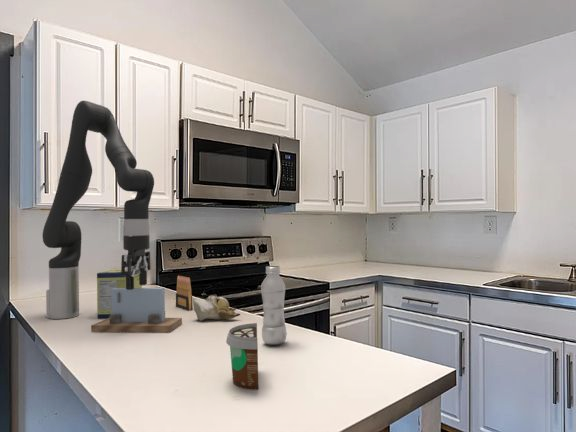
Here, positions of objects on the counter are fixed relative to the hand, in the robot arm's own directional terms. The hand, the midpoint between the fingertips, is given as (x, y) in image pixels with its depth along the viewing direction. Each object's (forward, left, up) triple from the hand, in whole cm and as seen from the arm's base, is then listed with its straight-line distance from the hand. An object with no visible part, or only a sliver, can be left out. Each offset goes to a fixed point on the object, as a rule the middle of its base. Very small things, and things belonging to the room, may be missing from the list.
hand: (136, 287), depth 127 cm
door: (0, 0, -10) cm, 10 cm away
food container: (+41, -40, -13) cm, 59 cm away
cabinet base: (0, 0, -12) cm, 12 cm away
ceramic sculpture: (+21, +12, -13) cm, 28 cm away
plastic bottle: (+44, -15, -13) cm, 48 cm away
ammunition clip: (+4, +29, -13) cm, 32 cm away
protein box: (-16, +20, -13) cm, 29 cm away
